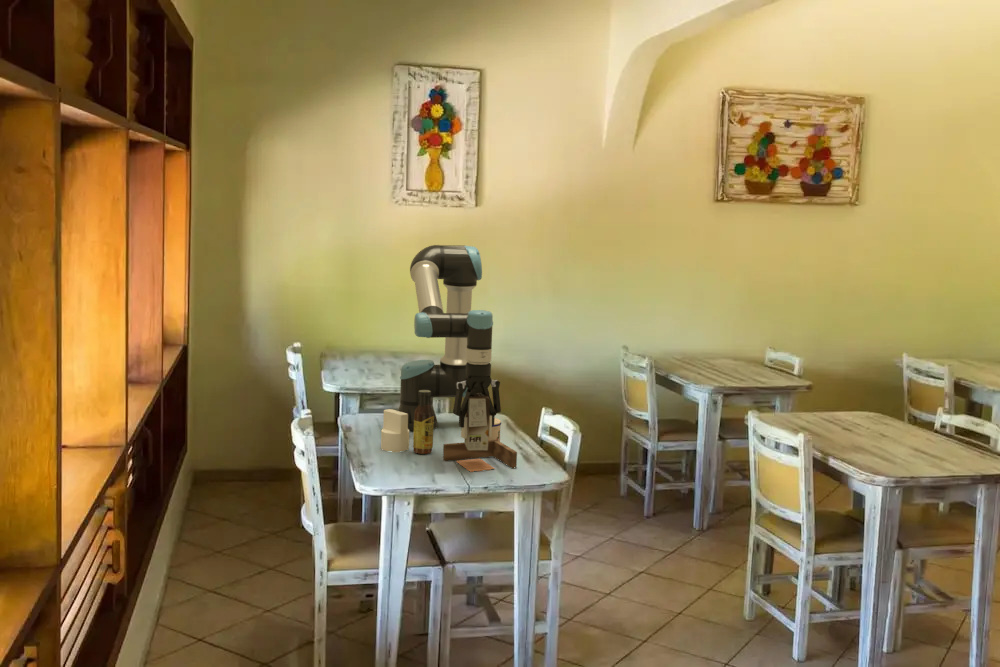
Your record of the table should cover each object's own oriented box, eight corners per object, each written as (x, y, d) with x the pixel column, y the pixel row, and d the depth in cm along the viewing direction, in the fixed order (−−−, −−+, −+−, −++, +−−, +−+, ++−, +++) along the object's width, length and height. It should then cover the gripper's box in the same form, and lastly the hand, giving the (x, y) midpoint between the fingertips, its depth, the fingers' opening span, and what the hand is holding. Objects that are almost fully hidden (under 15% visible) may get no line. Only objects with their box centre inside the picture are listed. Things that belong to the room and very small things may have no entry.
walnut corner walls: (443, 459, 275) (443, 444, 274) (495, 454, 282) (496, 439, 282) (461, 473, 261) (462, 457, 261) (516, 467, 269) (517, 452, 268)
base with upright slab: (414, 448, 286) (415, 412, 284) (393, 453, 279) (394, 416, 278) (396, 443, 292) (397, 407, 290) (375, 447, 285) (375, 411, 284)
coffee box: (488, 450, 265) (490, 398, 263) (467, 451, 264) (469, 398, 261) (483, 442, 274) (485, 391, 271) (463, 442, 273) (465, 391, 270)
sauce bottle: (427, 456, 278) (429, 394, 275) (409, 453, 280) (410, 391, 278) (436, 450, 284) (437, 390, 282) (418, 448, 286) (419, 388, 284)
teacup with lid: (502, 451, 286) (503, 416, 285) (474, 451, 285) (475, 416, 283) (496, 441, 298) (498, 407, 297) (470, 441, 297) (471, 407, 295)
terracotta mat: (456, 462, 273) (456, 460, 273) (480, 459, 276) (480, 458, 276) (470, 472, 263) (470, 470, 263) (494, 469, 266) (494, 468, 266)
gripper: (451, 365, 257) (449, 442, 261) (514, 363, 266) (511, 437, 269) (442, 361, 264) (440, 436, 267) (504, 358, 273) (501, 431, 276)
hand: (476, 436), depth 268 cm, fingers closed on coffee box, 7 cm apart
